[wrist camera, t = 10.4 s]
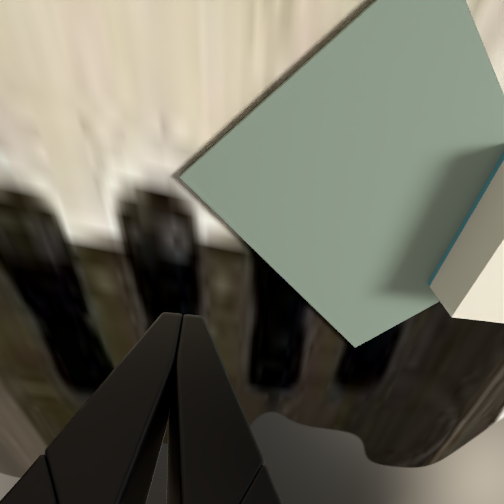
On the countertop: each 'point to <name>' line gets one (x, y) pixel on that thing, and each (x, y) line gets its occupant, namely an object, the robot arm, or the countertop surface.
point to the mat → (364, 162)
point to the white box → (476, 258)
